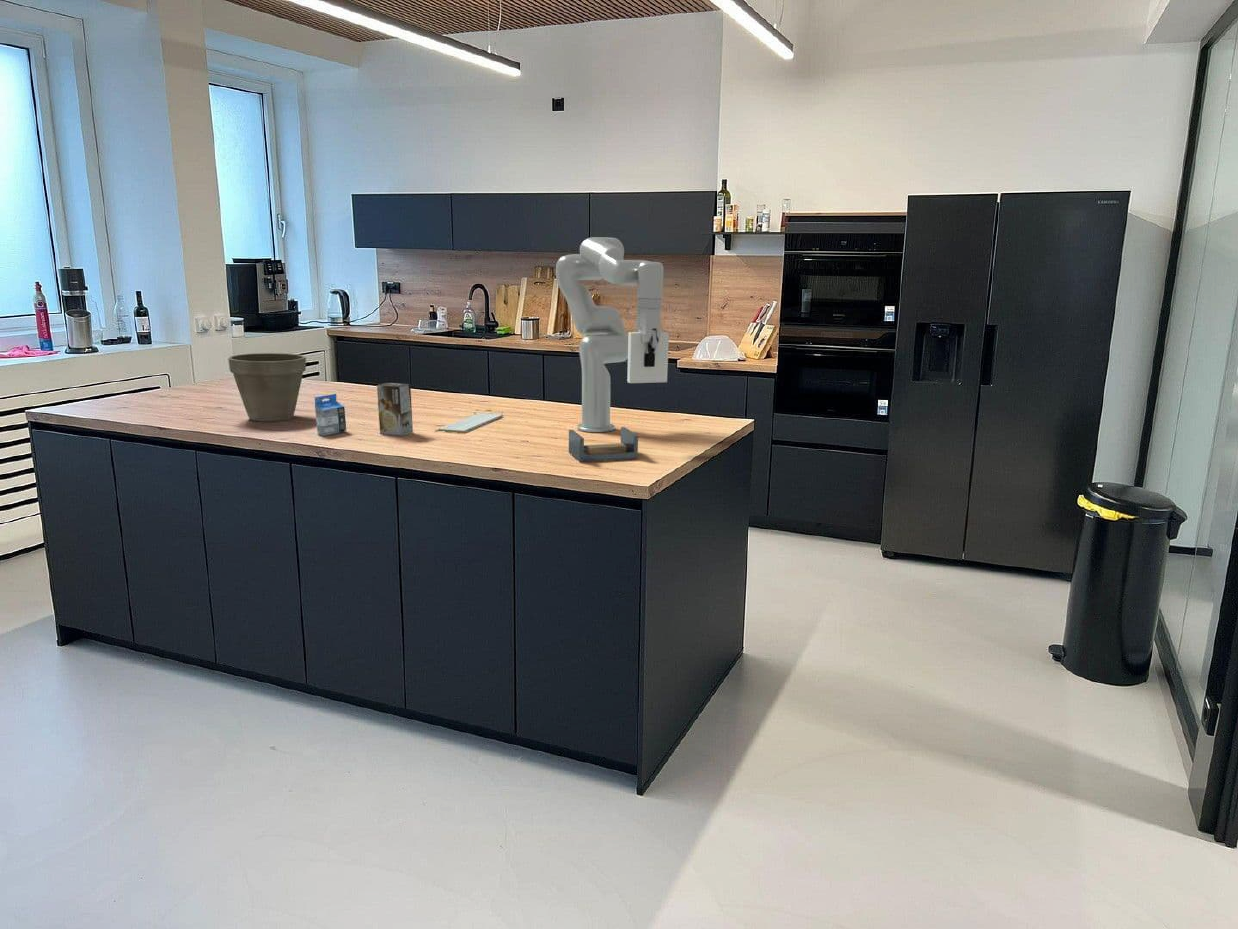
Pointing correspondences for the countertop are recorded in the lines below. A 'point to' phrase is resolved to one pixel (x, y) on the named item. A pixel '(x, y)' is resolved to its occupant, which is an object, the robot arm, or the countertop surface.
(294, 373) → the plant pot
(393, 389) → the coffee box
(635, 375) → the white rectangular panel
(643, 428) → the countertop surface
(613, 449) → the offcut stack
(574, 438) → the offcut rack
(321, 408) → the label tape box
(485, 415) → the baseboard molding
